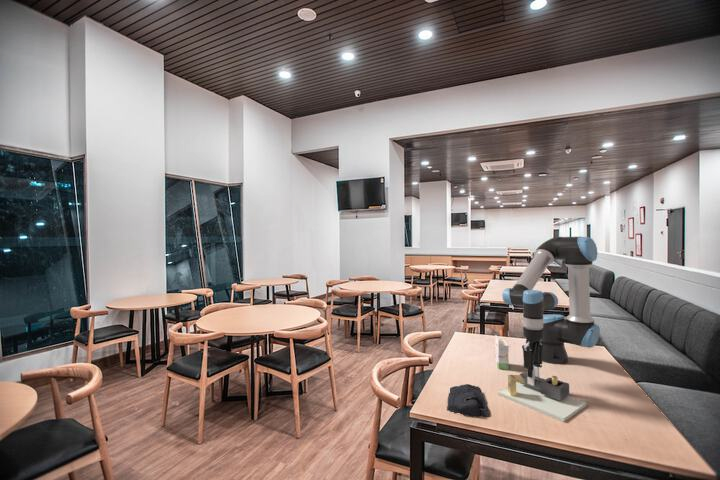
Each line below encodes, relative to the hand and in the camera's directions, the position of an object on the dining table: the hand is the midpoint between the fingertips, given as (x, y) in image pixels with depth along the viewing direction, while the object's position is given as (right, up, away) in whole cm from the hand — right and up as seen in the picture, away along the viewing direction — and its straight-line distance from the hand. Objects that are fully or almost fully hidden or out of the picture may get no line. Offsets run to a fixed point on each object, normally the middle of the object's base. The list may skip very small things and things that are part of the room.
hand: (533, 383), depth 140 cm
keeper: (-9, -4, -5) cm, 11 cm away
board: (-1, -4, -7) cm, 8 cm away
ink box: (-1, -4, +28) cm, 28 cm away
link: (+2, -1, -3) cm, 4 cm away
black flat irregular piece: (-30, -5, -8) cm, 32 cm away
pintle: (+5, -2, -7) cm, 9 cm away
